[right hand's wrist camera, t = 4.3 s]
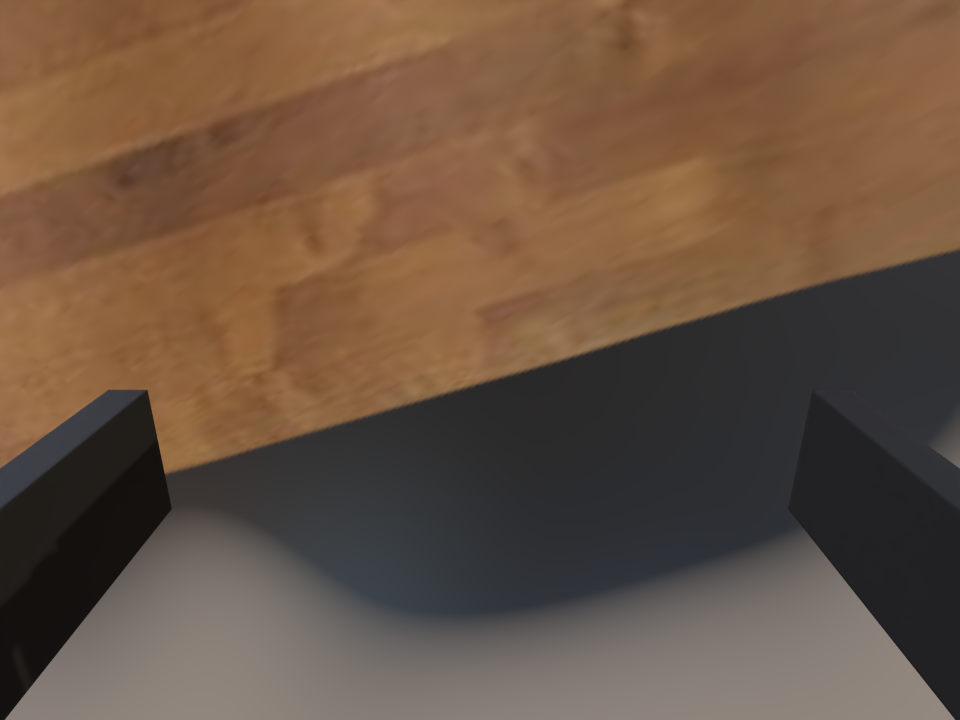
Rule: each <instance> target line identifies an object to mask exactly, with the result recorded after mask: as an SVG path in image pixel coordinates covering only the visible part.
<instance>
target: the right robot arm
mask: <svg viewBox="0 0 960 720" xmlns="http://www.w3.org/2000/svg"><path fill="white" fill-rule="evenodd" d="M171 509H172V508H171V503H170V498H169V493H168V488H167V483H166V479H165V474H164V469H163V464H162V459H161V454H160V449H159V444H158V440H157V435H156V430H155V425H154V420H153V415H152V410H151V405H150V401H149V396H148V391H147V390H108V391H106V392H105V393H104V394H102V395H101V396H100V397H98V398H97V399H95V400H94V401H93V402H91V403H90V404H89V405H87V406H86V407H84V408H83V409H82V410H80V411H79V412H78V413H76V414H75V415H73V416H72V417H71V418H69V419H68V420H67V421H65V422H64V423H62V424H61V425H60V426H58V427H57V428H56V429H54V430H53V431H51V432H50V433H49V434H47V435H46V436H45V437H43V438H42V439H40V440H39V441H38V442H36V443H35V444H34V445H32V446H31V447H29V448H28V449H27V450H25V451H24V452H23V453H21V454H20V455H18V456H17V457H16V458H14V459H13V460H12V461H10V462H9V463H7V464H6V465H5V466H3V467H2V468H1V469H0V720H5V719H6V717H7V716H8V715H9V714H10V712H11V711H12V710H13V709H14V707H15V706H16V705H17V703H18V702H19V701H20V700H21V698H22V697H23V696H24V695H25V693H26V692H27V691H28V690H29V688H30V687H31V686H32V684H33V683H34V682H35V681H36V679H37V678H38V677H39V676H40V674H41V673H42V672H43V671H44V669H45V668H46V667H47V666H48V664H49V663H50V662H51V661H52V659H53V658H54V657H55V655H56V654H57V653H58V652H59V650H60V649H61V648H62V647H63V645H64V644H65V643H66V642H67V640H68V639H69V638H70V637H71V635H72V634H73V633H74V631H75V630H76V629H77V628H78V626H79V625H80V624H81V623H82V621H83V620H84V619H85V618H86V616H87V615H88V614H89V613H90V611H91V610H92V609H93V607H94V606H95V605H96V604H97V602H98V601H99V600H100V599H101V597H102V596H103V595H104V594H105V592H106V591H107V590H108V589H109V587H110V586H111V585H112V584H113V582H114V581H115V580H116V578H117V577H118V576H119V575H120V573H121V572H122V571H123V570H124V568H125V567H126V566H127V565H128V563H129V562H130V561H131V560H132V558H133V557H134V556H135V555H136V553H137V552H138V551H139V549H140V548H141V547H142V546H143V544H144V543H145V542H146V541H147V539H148V538H149V537H150V536H151V534H152V533H153V532H154V530H155V529H156V528H157V527H158V525H159V524H160V523H161V522H162V520H163V519H164V518H165V517H166V515H167V514H168V513H169V512H170V510H171ZM788 509H789V510H790V512H791V513H792V514H793V515H794V517H795V518H796V519H797V520H798V522H799V523H800V524H801V525H802V527H803V528H804V529H805V530H806V532H807V533H808V534H809V536H810V537H811V538H812V539H813V541H814V542H815V543H816V544H817V546H818V547H819V548H820V549H821V551H822V552H823V553H824V555H825V556H826V557H827V558H828V560H829V561H830V562H831V563H832V565H833V566H834V567H835V568H836V570H837V571H838V572H839V573H840V575H841V576H842V577H843V578H844V580H845V581H846V582H847V584H848V585H849V586H850V587H851V589H852V590H853V591H854V592H855V594H856V595H857V596H858V597H859V599H860V600H861V601H862V602H863V604H864V605H865V606H866V607H867V609H868V610H869V611H870V613H871V614H872V615H873V616H874V618H875V619H876V620H877V621H878V623H879V624H880V625H881V626H882V628H883V629H884V630H885V631H886V633H887V634H888V635H889V637H890V638H891V639H892V640H893V642H894V643H895V644H896V645H897V647H898V648H899V649H900V650H901V652H902V653H903V654H904V655H905V657H906V658H907V659H908V661H909V662H910V663H911V664H912V666H913V667H914V668H915V669H916V671H917V672H918V673H919V674H920V676H921V677H922V678H923V679H924V681H925V682H926V683H927V684H928V686H929V687H930V688H931V690H932V691H933V692H934V693H935V695H936V696H937V697H938V698H939V700H940V701H941V702H942V703H943V705H944V706H945V707H946V709H947V710H948V711H949V712H950V714H951V715H952V716H953V717H954V719H955V720H960V469H959V468H958V467H957V466H955V465H954V464H952V463H951V462H950V461H948V460H947V459H946V458H944V457H943V456H942V455H940V454H939V453H937V452H936V451H935V450H933V449H932V448H931V447H929V446H928V445H926V444H925V443H924V442H922V441H921V440H920V439H918V438H917V437H915V436H914V435H913V434H911V433H910V432H908V431H907V430H906V429H904V428H903V427H902V426H900V425H899V424H898V423H896V422H895V421H893V420H892V419H891V418H889V417H888V416H886V415H885V414H884V413H882V412H881V411H880V410H878V409H877V408H876V407H874V406H873V405H871V404H870V403H869V402H867V401H866V400H864V399H863V398H862V397H860V396H859V395H858V394H856V393H855V392H854V391H852V390H813V391H812V396H811V401H810V405H809V410H808V415H807V420H806V425H805V430H804V435H803V440H802V444H801V449H800V454H799V459H798V464H797V469H796V474H795V479H794V483H793V489H792V493H791V498H790V503H789V508H788Z"/></svg>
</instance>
